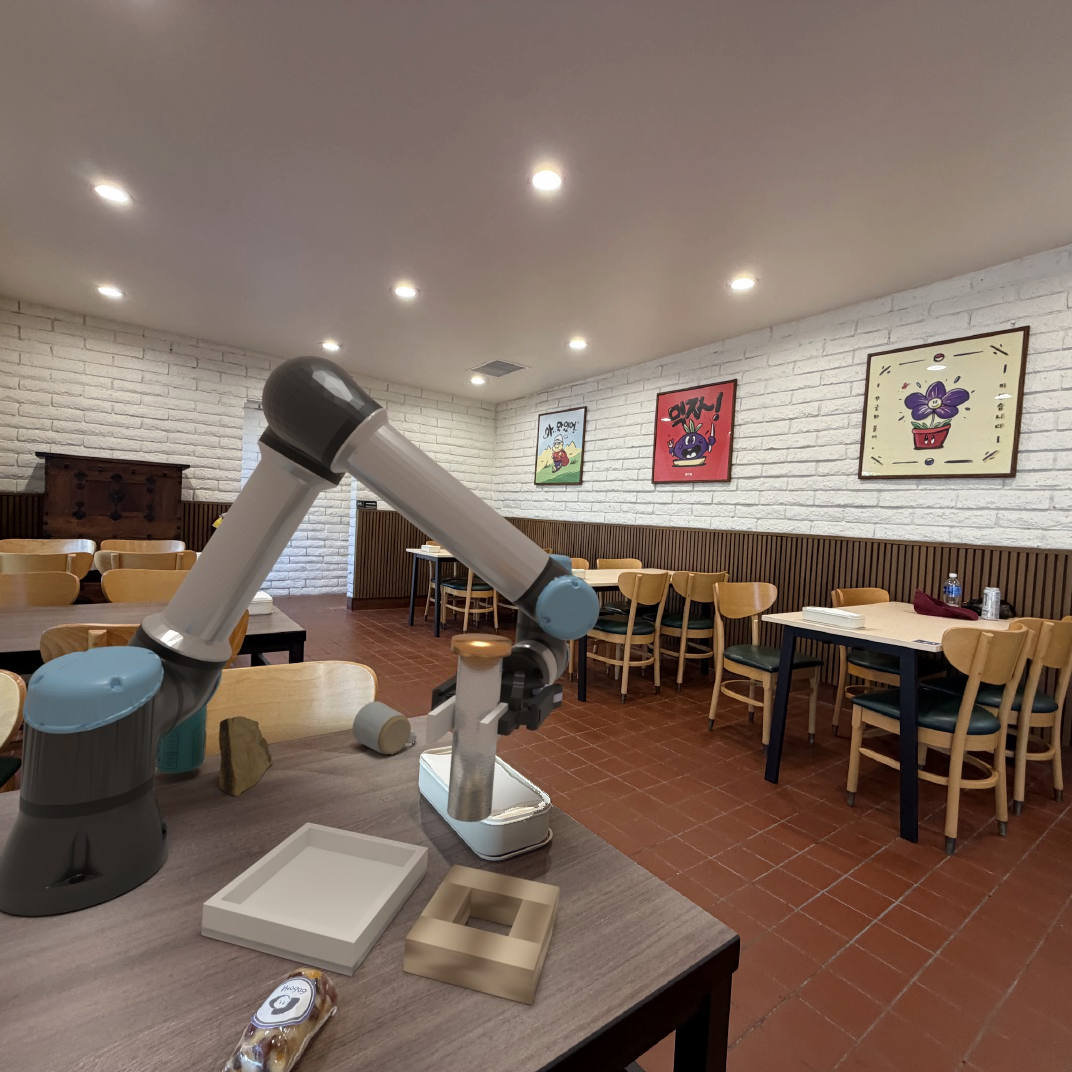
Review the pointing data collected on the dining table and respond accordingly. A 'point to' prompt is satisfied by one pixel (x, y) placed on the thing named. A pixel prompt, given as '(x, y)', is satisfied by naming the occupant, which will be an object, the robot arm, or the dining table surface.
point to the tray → (318, 897)
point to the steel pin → (474, 723)
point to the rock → (241, 754)
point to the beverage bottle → (183, 745)
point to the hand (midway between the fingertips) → (456, 733)
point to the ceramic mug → (382, 728)
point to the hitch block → (484, 933)
